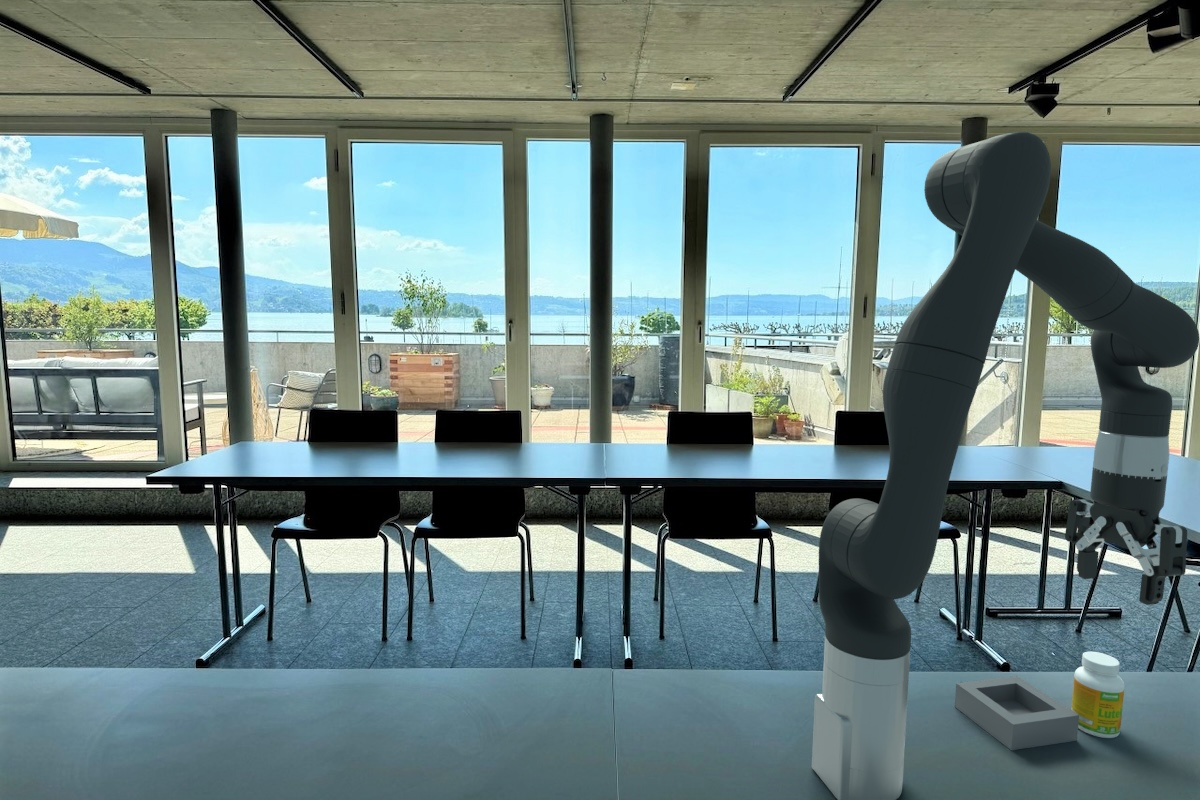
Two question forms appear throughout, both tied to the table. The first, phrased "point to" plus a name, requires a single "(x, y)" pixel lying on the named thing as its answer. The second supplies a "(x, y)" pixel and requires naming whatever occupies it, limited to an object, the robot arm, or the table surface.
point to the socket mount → (1016, 712)
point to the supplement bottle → (1098, 695)
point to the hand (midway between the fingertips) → (1116, 590)
